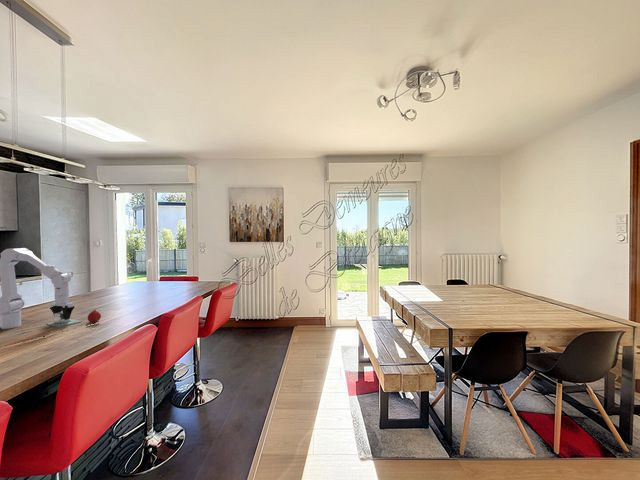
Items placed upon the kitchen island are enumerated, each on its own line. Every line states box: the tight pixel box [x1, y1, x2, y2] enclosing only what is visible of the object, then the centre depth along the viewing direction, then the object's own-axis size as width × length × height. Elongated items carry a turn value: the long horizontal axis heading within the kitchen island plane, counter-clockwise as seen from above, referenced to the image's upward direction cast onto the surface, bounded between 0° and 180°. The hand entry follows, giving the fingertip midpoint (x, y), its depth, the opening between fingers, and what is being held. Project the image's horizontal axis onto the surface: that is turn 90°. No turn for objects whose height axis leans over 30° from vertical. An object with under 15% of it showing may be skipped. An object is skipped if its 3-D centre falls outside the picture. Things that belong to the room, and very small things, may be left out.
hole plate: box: [45, 318, 83, 328], centre depth 152 cm, size 14×10×2 cm
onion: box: [87, 308, 102, 324], centre depth 154 cm, size 6×6×8 cm
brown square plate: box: [19, 324, 51, 333], centre depth 144 cm, size 9×9×1 cm
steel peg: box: [53, 311, 70, 324], centre depth 153 cm, size 4×4×7 cm
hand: (62, 318), depth 153 cm, fingers open, 7 cm apart
